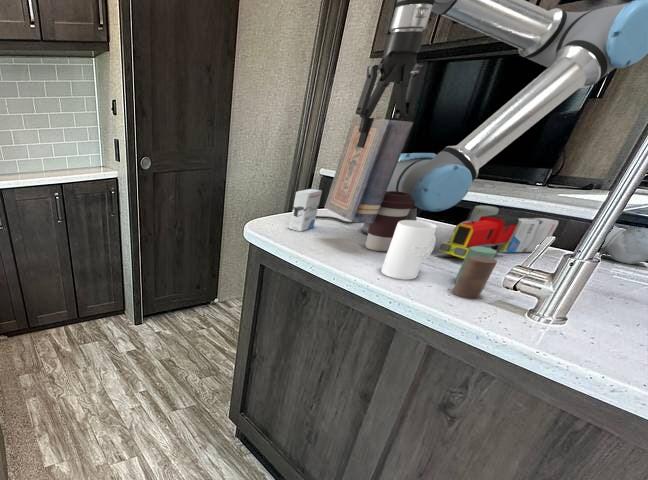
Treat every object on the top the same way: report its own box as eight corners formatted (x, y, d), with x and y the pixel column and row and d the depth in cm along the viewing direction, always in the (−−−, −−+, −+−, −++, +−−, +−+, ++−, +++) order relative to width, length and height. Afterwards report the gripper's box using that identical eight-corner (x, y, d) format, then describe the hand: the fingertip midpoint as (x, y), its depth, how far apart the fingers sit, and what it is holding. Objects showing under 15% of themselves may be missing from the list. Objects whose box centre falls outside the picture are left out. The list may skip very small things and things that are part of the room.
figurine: (579, 258, 110) (651, 278, 100) (600, 225, 105) (679, 242, 94) (597, 250, 114) (669, 268, 103) (619, 218, 108) (698, 233, 97)
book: (322, 209, 120) (353, 111, 106) (342, 210, 121) (376, 113, 107) (352, 224, 107) (392, 114, 92) (374, 225, 108) (418, 116, 93)
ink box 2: (492, 248, 116) (526, 247, 117) (507, 253, 112) (543, 252, 113) (506, 217, 111) (542, 217, 113) (523, 221, 107) (560, 220, 109)
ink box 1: (301, 224, 138) (309, 188, 132) (314, 227, 135) (323, 190, 129) (287, 228, 134) (295, 191, 127) (301, 231, 131) (309, 193, 124)
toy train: (504, 254, 110) (524, 217, 105) (459, 263, 104) (477, 224, 99) (479, 248, 116) (497, 212, 110) (434, 256, 109) (450, 218, 104)
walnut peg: (451, 295, 88) (468, 259, 83) (453, 288, 91) (469, 253, 87) (478, 300, 85) (497, 264, 81) (479, 293, 89) (497, 258, 84)
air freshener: (480, 238, 124) (496, 204, 118) (498, 246, 117) (516, 210, 111) (445, 238, 124) (459, 204, 118) (461, 245, 117) (477, 210, 112)
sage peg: (453, 284, 93) (469, 250, 89) (454, 277, 96) (470, 244, 92) (479, 288, 91) (497, 254, 86) (479, 282, 94) (496, 248, 90)
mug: (437, 275, 98) (459, 225, 91) (400, 281, 94) (420, 230, 88) (409, 265, 104) (427, 217, 97) (373, 270, 101) (390, 221, 94)
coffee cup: (367, 241, 122) (384, 188, 113) (402, 248, 116) (422, 193, 107) (354, 248, 116) (371, 193, 107) (390, 256, 110) (410, 198, 102)
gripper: (376, 29, 87) (346, 149, 100) (457, 30, 88) (417, 148, 102) (357, 34, 93) (331, 146, 106) (434, 35, 95) (399, 145, 108)
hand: (374, 147), depth 104 cm, fingers closed on book, 7 cm apart
